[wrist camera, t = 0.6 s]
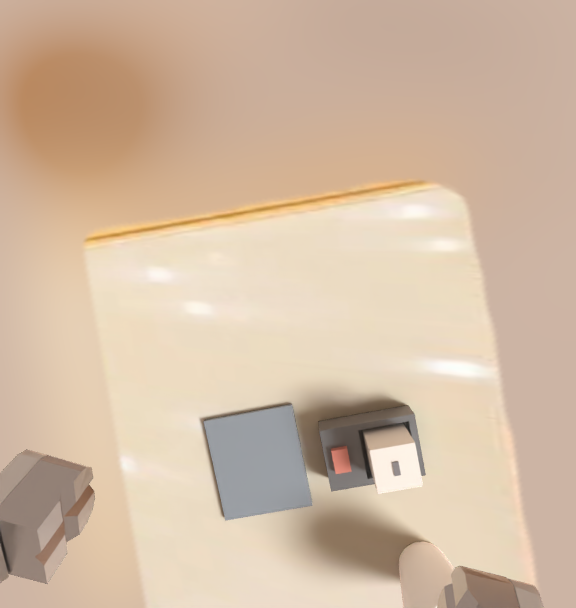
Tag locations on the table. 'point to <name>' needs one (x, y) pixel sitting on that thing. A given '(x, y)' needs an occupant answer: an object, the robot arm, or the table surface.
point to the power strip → (359, 444)
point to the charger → (392, 458)
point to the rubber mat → (258, 462)
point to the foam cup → (423, 575)
